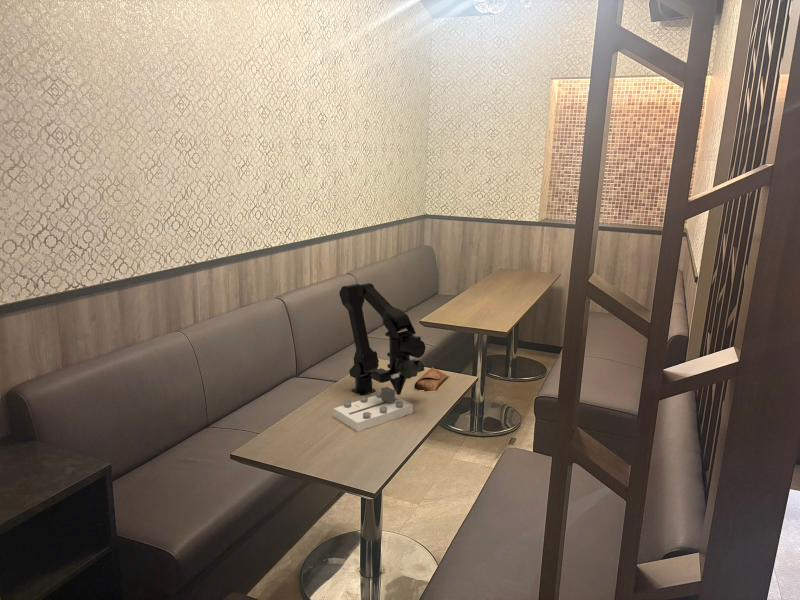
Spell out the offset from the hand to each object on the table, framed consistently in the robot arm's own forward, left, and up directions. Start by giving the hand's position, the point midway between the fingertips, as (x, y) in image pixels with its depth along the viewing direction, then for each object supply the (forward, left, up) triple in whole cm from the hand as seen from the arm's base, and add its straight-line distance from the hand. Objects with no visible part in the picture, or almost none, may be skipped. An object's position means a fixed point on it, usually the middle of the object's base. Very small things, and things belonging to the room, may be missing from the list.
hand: (398, 394), depth 199 cm
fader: (0, -4, -1) cm, 5 cm away
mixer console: (0, -10, -4) cm, 11 cm away
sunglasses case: (-9, +23, -5) cm, 26 cm away
